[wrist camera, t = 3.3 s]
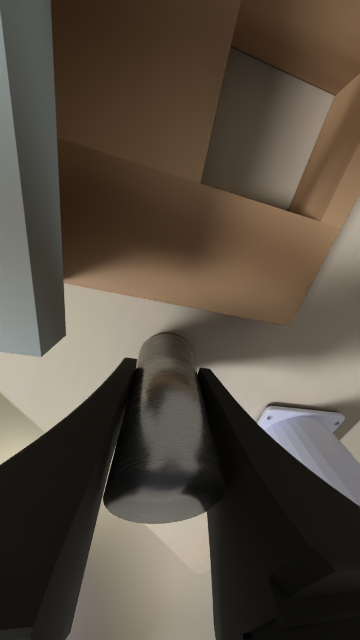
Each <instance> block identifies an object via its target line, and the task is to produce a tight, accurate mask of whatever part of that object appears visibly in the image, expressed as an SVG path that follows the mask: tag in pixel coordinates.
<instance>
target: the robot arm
mask: <svg viewBox="0 0 360 640" xmlns="http://www.w3.org/2000/svg"><path fill="white" fill-rule="evenodd" d="M136 363H137V359H133V358H124V359H123V361H122V362H121V363H120V365H119V366H118V367H117V368H116V370H115V371H114V372H113V373H112V374H111V375H110V376H109V377H108V379H107V380H106V381H105V382H104V383H103V384H102V385H101V386H100V387H99V388H98V389H97V390H96V391H95V392H94V393H93V394H92V395H91V396H90V397H89V398H88V399H86V400H85V401H84V402H83V403H82V404H81V405H80V406H79V407H77V408H76V409H75V410H74V411H73V412H72V413H70V414H69V415H68V416H67V417H65V418H64V419H63V420H62V421H60V422H59V423H58V424H57V425H55V426H54V427H53V428H51V429H50V430H49V431H48V432H46V433H45V434H44V435H42V436H41V437H40V438H38V439H37V440H35V441H34V442H33V443H31V444H30V445H28V446H27V447H26V448H24V449H23V450H21V451H20V452H18V453H17V454H15V455H14V456H13V457H11V458H10V459H8V460H7V461H6V462H4V463H2V464H1V465H0V640H65V639H66V638H67V636H68V635H69V633H70V631H71V627H72V622H73V618H74V613H75V609H76V605H77V601H78V597H79V592H80V588H81V584H82V579H83V575H84V570H85V567H86V562H87V558H88V554H89V550H90V546H91V541H92V537H93V533H94V529H95V524H96V520H97V516H98V512H99V508H100V504H101V500H102V496H103V492H104V487H105V483H106V479H107V475H108V471H109V467H110V463H111V459H112V456H113V453H114V449H115V446H116V443H117V440H118V436H119V432H120V429H121V425H122V421H123V417H124V413H125V409H126V405H127V401H128V397H129V393H130V389H131V385H132V382H133V378H134V374H135V370H136ZM198 379H199V383H200V387H201V391H202V395H203V400H204V404H205V408H206V412H207V416H208V420H209V424H210V429H211V433H212V437H213V441H214V445H215V449H216V453H217V457H218V462H219V466H220V470H221V474H222V478H223V482H224V486H225V491H224V495H223V497H222V498H221V500H220V501H219V502H218V503H217V504H216V505H215V506H214V507H212V508H211V509H209V510H208V511H207V518H208V531H209V545H210V559H211V577H212V593H213V594H212V595H213V614H214V615H213V616H214V629H215V637H216V640H360V463H359V462H358V461H357V460H356V459H355V458H354V457H353V455H352V454H351V453H350V452H349V451H348V450H347V449H346V447H345V446H344V445H343V444H342V443H341V442H340V441H339V440H338V439H337V437H336V436H335V435H334V434H333V432H334V431H335V430H336V429H337V428H338V427H339V425H340V424H341V423H342V422H343V421H344V420H345V417H344V416H343V415H342V414H341V413H336V412H326V411H317V410H307V409H298V408H288V407H278V406H269V407H267V408H266V409H265V410H264V412H263V414H262V415H261V417H260V419H259V420H258V422H257V423H256V422H255V421H254V420H253V419H252V418H251V417H250V416H249V414H248V413H247V412H246V411H245V410H244V409H243V408H242V407H241V406H240V405H239V404H238V402H237V401H236V400H235V399H234V398H233V397H232V395H231V394H230V393H229V392H228V391H227V389H226V388H225V387H224V386H223V385H222V383H221V382H220V381H219V380H218V378H217V377H216V376H215V375H214V373H213V372H212V371H211V370H210V369H206V368H200V369H199V372H198Z"/></svg>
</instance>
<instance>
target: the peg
mask: <svg viewBox="0 0 360 640" xmlns="http://www.w3.org/2000/svg"><path fill="white" fill-rule="evenodd" d="M224 491H225V486H224V482H223V478H222V474H221V470H220V466H219V462H218V457H217V453H216V449H215V445H214V441H213V437H212V433H211V429H210V424H209V420H208V416H207V412H206V408H205V404H204V400H203V395H202V391H201V387H200V383H199V379H198V375H197V371H196V366H195V362H194V358H193V354H192V350H191V347H190V345H189V344H188V343H187V341H185V340H184V339H183V338H181V337H179V336H177V335H174V334H159V335H156V336H153V337H151V338H150V339H148V340H147V341H146V342H145V343H144V344H143V346H142V347H141V350H140V353H139V357H138V361H137V365H136V370H135V374H134V378H133V382H132V385H131V389H130V393H129V397H128V401H127V405H126V409H125V413H124V417H123V421H122V425H121V429H120V432H119V436H118V440H117V444H116V448H115V452H114V456H113V460H112V464H111V468H110V472H109V476H108V480H107V484H106V488H105V492H104V496H103V502H104V505H105V507H106V508H107V509H108V510H109V511H110V512H111V513H112V514H114V515H115V516H117V517H119V518H122V519H124V520H128V521H132V522H137V523H146V524H162V523H171V522H177V521H182V520H186V519H189V518H192V517H195V516H198V515H200V514H202V513H204V512H206V511H208V510H209V509H211V508H212V507H214V506H215V505H216V504H217V503H218V502H219V501H220V500H221V498H222V497H223V495H224Z"/></svg>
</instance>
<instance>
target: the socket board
mask: <svg viewBox="0 0 360 640" xmlns="http://www.w3.org/2000/svg"><path fill="white" fill-rule="evenodd" d="M231 46H232V47H234V48H236V49H238V50H240V51H242V52H245V53H247V54H249V55H251V56H253V57H255V58H257V59H259V60H262V61H264V62H266V63H268V64H270V65H272V66H274V67H276V68H278V69H281V70H283V71H285V72H287V73H289V74H291V75H293V76H295V77H298V78H300V79H302V80H304V81H306V82H308V83H310V84H312V85H315V86H317V87H319V88H321V89H323V90H325V91H327V92H329V93H331V94H334V95H335V97H334V100H333V102H332V105H331V107H330V110H329V112H328V115H327V117H326V119H325V122H324V124H323V127H322V129H321V132H320V134H319V137H318V139H317V141H316V144H315V146H314V149H313V151H312V154H311V156H310V158H309V161H308V163H307V166H306V168H305V171H304V173H303V176H302V178H301V180H300V183H299V185H298V188H297V190H296V193H295V195H294V198H293V200H292V202H291V205H290V207H289V210H288V211H286V210H282V209H279V208H276V207H273V206H270V205H267V204H264V203H261V202H257V201H254V200H251V199H248V198H245V197H242V196H239V195H235V194H232V193H229V192H226V191H223V190H220V189H217V188H214V187H210V186H207V185H204V184H201V178H202V174H203V169H204V165H205V160H206V156H207V151H208V147H209V142H210V138H211V133H212V129H213V124H214V120H215V115H216V111H217V106H218V102H219V97H220V93H221V88H222V84H223V79H224V75H225V70H226V66H227V61H228V57H229V52H230V48H231ZM359 195H360V0H0V352H5V353H13V354H21V355H29V356H37V357H42V356H43V355H44V354H45V353H46V352H48V351H49V350H50V349H51V348H52V347H53V346H54V345H55V344H57V343H58V342H59V341H60V340H61V339H62V338H63V337H64V336H66V326H65V304H64V283H66V284H71V285H76V286H82V287H87V288H92V289H97V290H102V291H108V292H113V293H118V294H123V295H128V296H133V297H139V298H144V299H149V300H154V301H159V302H165V303H170V304H175V305H180V306H185V307H190V308H196V309H201V310H206V311H211V312H216V313H222V314H227V315H232V316H237V317H242V318H247V319H253V320H258V321H263V322H268V323H273V324H279V325H284V326H290V324H291V322H292V320H293V318H294V316H295V314H296V312H297V311H298V309H299V307H300V305H301V303H302V301H303V299H304V298H305V296H306V294H307V292H308V290H309V288H310V286H311V284H312V283H313V281H314V279H315V277H316V275H317V273H318V271H319V270H320V268H321V266H322V264H323V262H324V260H325V258H326V256H327V255H328V253H329V251H330V249H331V247H332V245H333V243H334V242H335V240H336V238H337V236H338V234H339V232H340V230H341V228H342V227H343V225H344V223H345V221H346V219H347V217H348V215H349V214H350V212H351V210H352V208H353V206H354V204H355V202H356V200H357V199H358V197H359Z"/></svg>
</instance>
